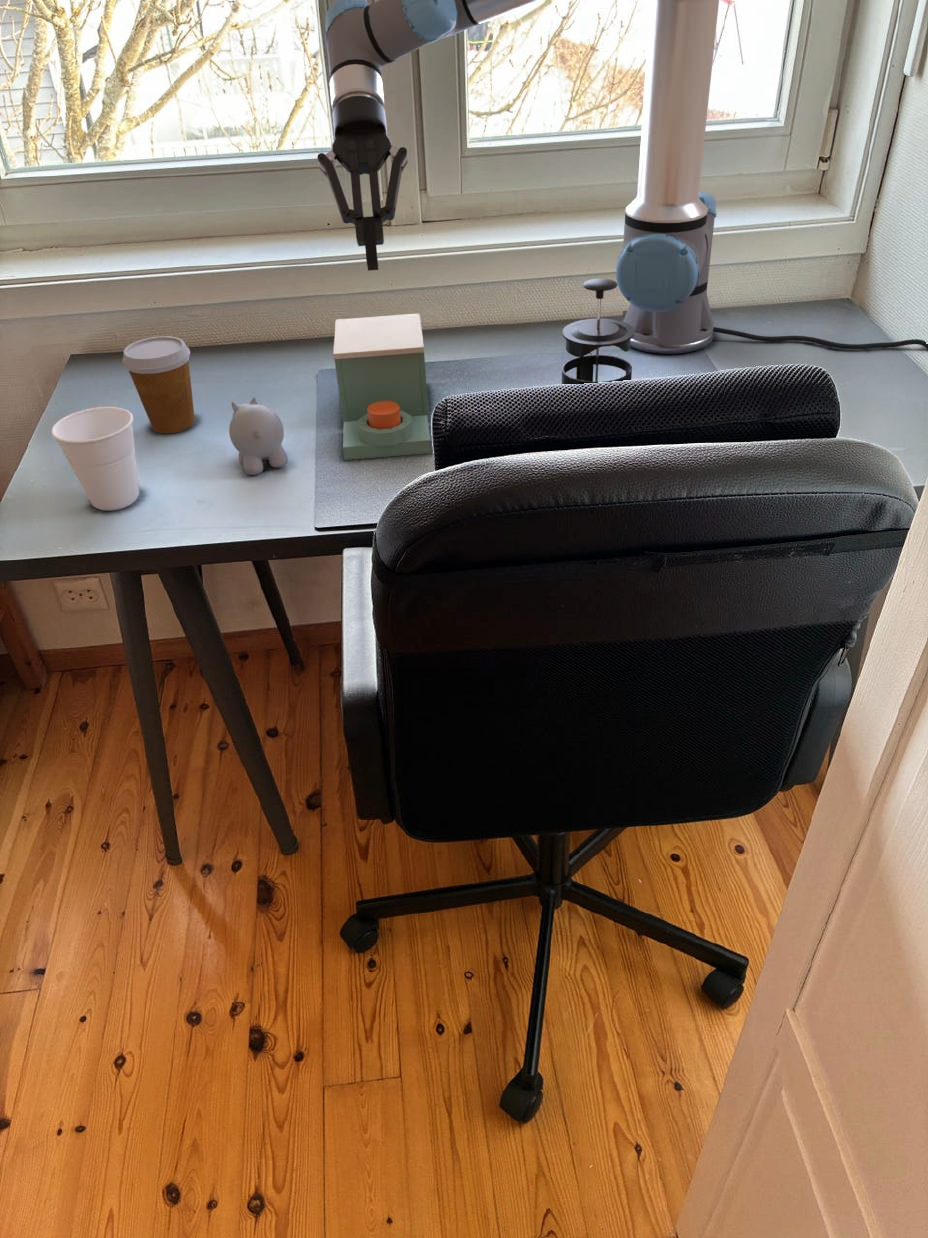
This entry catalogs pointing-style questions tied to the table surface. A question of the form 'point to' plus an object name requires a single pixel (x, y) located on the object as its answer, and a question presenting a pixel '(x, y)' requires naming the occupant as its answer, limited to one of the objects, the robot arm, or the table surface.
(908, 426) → the table surface
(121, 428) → the cup
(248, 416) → the round bodied animal figurine
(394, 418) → the button
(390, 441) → the control block
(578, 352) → the french press
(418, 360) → the coffee maker
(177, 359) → the disposable coffee cup
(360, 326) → the lid
